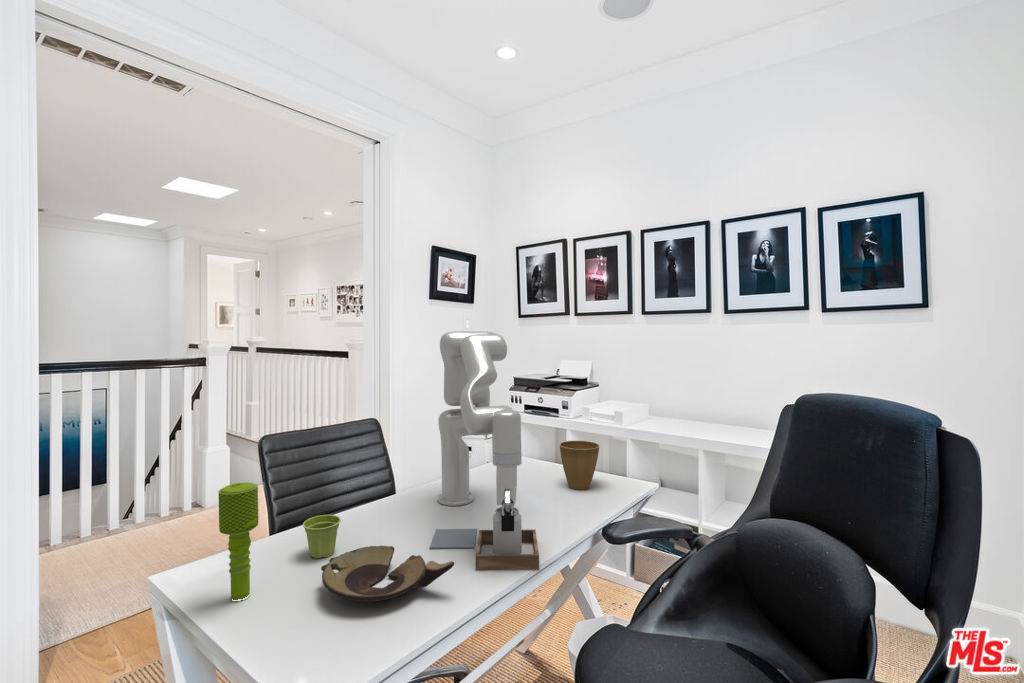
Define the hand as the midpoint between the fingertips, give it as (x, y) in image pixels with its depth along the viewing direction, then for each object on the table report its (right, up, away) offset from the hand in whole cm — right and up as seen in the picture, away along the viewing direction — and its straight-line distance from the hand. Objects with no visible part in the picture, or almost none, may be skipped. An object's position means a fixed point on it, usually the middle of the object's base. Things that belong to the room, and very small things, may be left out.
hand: (507, 523), depth 127 cm
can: (0, -9, +1) cm, 9 cm away
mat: (-15, -8, +10) cm, 20 cm away
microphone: (-59, -10, -19) cm, 63 cm away
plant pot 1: (-49, -9, +2) cm, 50 cm away
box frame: (0, -9, +1) cm, 9 cm away
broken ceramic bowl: (-28, -9, -17) cm, 34 cm away
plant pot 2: (+26, -7, +56) cm, 62 cm away
